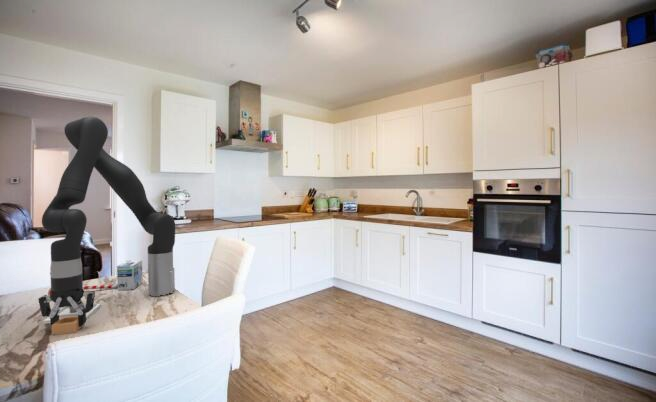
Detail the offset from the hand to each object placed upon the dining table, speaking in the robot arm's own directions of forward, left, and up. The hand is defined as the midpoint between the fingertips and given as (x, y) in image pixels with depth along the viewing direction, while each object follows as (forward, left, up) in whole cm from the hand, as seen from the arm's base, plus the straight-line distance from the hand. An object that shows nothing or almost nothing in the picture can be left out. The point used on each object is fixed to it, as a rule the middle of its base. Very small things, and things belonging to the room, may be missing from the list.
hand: (68, 326), depth 97 cm
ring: (0, 0, -1) cm, 1 cm away
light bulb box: (-5, -42, -1) cm, 42 cm away
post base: (+4, -13, -1) cm, 14 cm away
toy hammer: (+12, -39, -1) cm, 41 cm away
